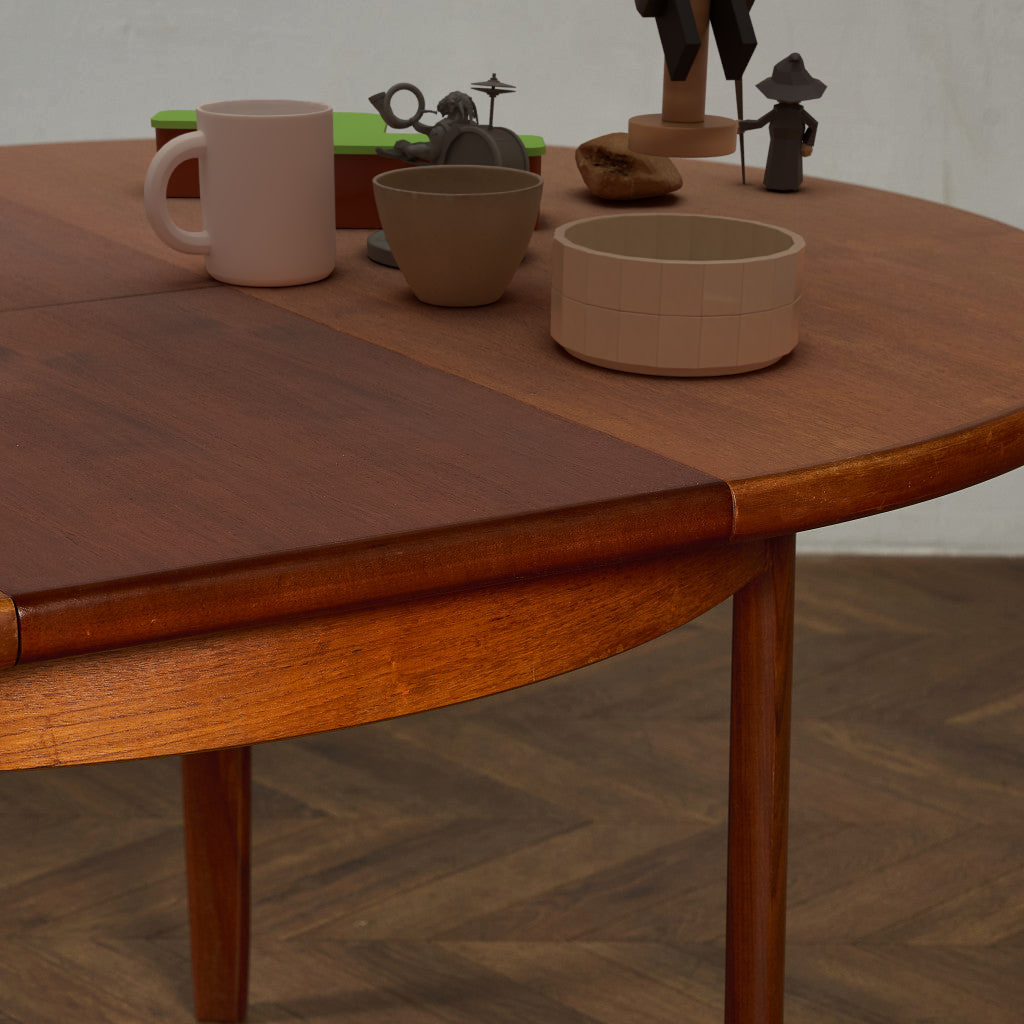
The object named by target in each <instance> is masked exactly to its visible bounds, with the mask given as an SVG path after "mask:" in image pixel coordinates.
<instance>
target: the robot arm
mask: <svg viewBox="0 0 1024 1024" xmlns="http://www.w3.org/2000/svg"><path fill="white" fill-rule="evenodd" d="M755 1H756V0H711V7H710V26H711V29H712V34H713V37H714V40H715V44H716V48H717V52H718V55H719V59H720V63H721V67H722V71H723V74H724V77H725V81H735V80H741V78H742V79H743V75H744V74H745V71H746V69H747V67H748V66H749V63H750V61H751V59H752V57H753V55H754V53H755V51H756V49H757V46H758V44H759V43H758V40H757V36H756V32H755V29H754V25H753V22H752V17H751V15H750V12H751V10H752V9H753V6H754V4H755ZM634 5H635V9H636V11H637V12H638V14H639V15H640V16H641V18H642V19H643V18H644V19H645V18H647V19H648V18H650V19H651V18H654V20H655V23H656V28H657V33H658V36H659V40H660V44H661V48H662V52H663V55H664V56H665V60H666V64H667V68H668V72H669V76H670V80H671V81H686V78H687V76H688V74H689V72H690V69H691V67H692V65H693V62H694V60H695V58H696V55H697V53H698V51H699V49H700V46H701V41H700V38H699V34H698V30H697V26H696V23H695V19H694V15H693V11H692V7H691V4H690V0H634ZM664 56H663V57H664Z"/></svg>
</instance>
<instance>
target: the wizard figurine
mask: <svg viewBox="0 0 1024 1024" xmlns="http://www.w3.org/2000/svg"><path fill="white" fill-rule="evenodd" d="M743 85H744V84H743V77H742V78H741V80H734V91H735V102H736V111H737V112H736V113H737V119H736V120H735V119H734V120H735V121H737V123H738V127H737V135H738V137H739V138H738V139H739V151H740V152H739V153H740V163H741V164H740V165H741V176H742V177H741V178H742V185H743V186H745V185H746V165H745V161H746V160H745V139H744V138H745V137H744V135H745V133H746V132H748V131H753V130H758V129H763V128H764V127H765V126H766V125H768V134H769V145H768V151H767V156H766V163H765V167H764V174H763V180H762V185H764V186H765V187H766V189H767V190H770V191H790V192H795V191H798V190H799V188H800V187H801V185H802V184H803V182H804V164H803V158H808V157H811V156H812V154H813V151H814V147H815V143H816V137H817V132H818V126H819V121H818V120H817V119H816V118H815V117H813V116H812V115H811V114H810V113H809V112H808V111H807V110H806V109H805V106H804V104H801V103H802V102H805V101H813V100H818V99H821V98H822V96H823V95H824V94H825V91H826V89H828V85H826V84H825V83H824V82H823V81H821V80H820V79H818V78H816V77H813V76H812V75H811V73H809V70H807V69H806V67H805V63H804V59H803V57H802V55H801V53H799V52H792V53H790V54H789V55H788V56H786V57H784V58H783V59H781V60H780V61H778V62H777V63H776V64H774V65H773V69H772V74H771V76H768V77H766V78H764V79H763V80H762V81H760V82H758V83H757V84H755V85H754V86H755V88H756V89H757V90H758V91H759V92H760V93H761V94H762V95H763V96H764V97H765V98H766V99H768V100H774V101H776V102H777V103H775V104H773V106H772V109H771V110H769V111H768V112H767V113H765V114H764V115H762V116H760V117H759V118H758V119H747V118H746V119H744V92H743ZM806 126H807V128H806Z"/></svg>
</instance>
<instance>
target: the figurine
mask: <svg viewBox="0 0 1024 1024" xmlns="http://www.w3.org/2000/svg"><path fill="white" fill-rule="evenodd" d="M491 76H492V77H490V78H489V79H488V80H487V81H478V82H471V83H470V85H472V86H473V87H470V90H474V91H478V92H482V93H486V95H487V96H488V97H489V98H490V105H489V118H488V124H480V123H479V114H478V109H477V105H476V103H475V101H474V99H473V97H472V96H470V95H469V94H467V93H466V92H462V91H459V90H455V91H451V92H449V93H448V94H447V95H445V96H444V97H443V98H442V99H440V100H439V101H438V103H437V105H436V110H433V109H426V100H425V97H424V94H423V92H422V91H421V90H420V88H419V87H417V86H416V85H414V84H412V83H410V82H398V83H396V84H394V85H392V86H391V87H389V89H387V91H381V92H378V93H376V94H373V95H371V96H369V97H368V98H367V99H368V101H369V103H370V104H371V105H372V107H374V109H375V110H376V111H377V112H378V114H380V115H381V117H382V119H383V120H384V122H385V123H386V124H387V127H389V128H391V129H394V130H405V129H408V128H410V127H412V128H413V129H414V130H415V132H416V133H418V134H425V135H427V136H428V138H429V140H430V141H429V142H416V143H412V144H411V142H408V141H406V140H403V139H402V140H399V141H396V143H395V145H394V148H393V149H387V150H383V149H382V148H381V147H379V146H377V147H376V149H375V151H376V153H377V154H378V155H379V156H382V157H387V158H392V159H401V160H402V161H403V162H405V163H409V164H413V165H417V166H435V165H481V166H496V167H505V168H513V169H518V170H524V171H528V172H529V158H528V153H527V150H526V148H525V145H524V144H523V142H522V140H521V139H520V138H519V136H518V135H519V134H517V133H516V132H515V131H513V130H512V129H510V128H508V127H504V126H494V125H493V124H494V123H493V122H494V121H493V120H494V109H495V99H497V96H500V95H501V94H512V93H516V90H514V89H516V88H517V86H514V85H511V84H509V83H508V84H507V83H504V82H501V81H500V80H498V78H497V73H495V72H492V75H491ZM474 86H480V87H474ZM488 87H489V88H488ZM502 88H504V89H502ZM508 88H509V89H508ZM512 89H513V90H512ZM403 90H404V91H409V92H411V93H412V94H413V95H414V96H415V98H416V99H417V105H418V106H417V110H416V112H415V114H414V115H413V116H411V117H409V119H402V118H400V117H398V116H397V115H395V114H394V111H393V109H392V106H391V101H392V99H393V96H394V95H395V94H396V93H398V92H400V91H403ZM429 113H430V114H434V115H436V116H437V115H438V113H439V114H440V115H441V118H442V119H440V120H439V121H437V122H435V124H434V125H427V124H424V123H422V122H421V121H420V120H421V119H422V117H423V116H424V114H429ZM445 116H446V117H445ZM420 159H426V160H428V161H431V162H430V163H425V162H421V161H417V160H420ZM366 255H367V257H368V258H369V259H371V260H372V261H374V262H376V263H379V264H383V265H386V266H390V267H394V268H399V267H398V265H397V263H396V261H395V258H394V256H393V254H392V252H391V250H390V247H389V245H388V242H387V240H386V237H385V234H384V231H383V229H380V230H377V231H375V232H373V233H371V234H370V235H368V237H367V238H366ZM525 257H526V253H525V254H524V257H523V259H522V261H523V260H524V259H525Z"/></svg>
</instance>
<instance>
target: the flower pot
mask: <svg viewBox="0 0 1024 1024" xmlns="http://www.w3.org/2000/svg"><path fill="white" fill-rule="evenodd" d="M544 181H545V180H544V178H543V177H542V175H541V176H540V175H538V174H535V173H532V172H528V171H524V170H518V169H513V168H505V167H496V166H481V165H435V166H421V167H411V168H403V169H397V170H392V171H388V172H385V173H382V174H379V175H377V176H376V177H374V178H373V189H374V195H375V200H376V205H377V209H378V213H379V217H380V221H381V225H382V228H381V229H382V230H383V231H384V234H385V237H386V240H387V242H388V245H389V247H390V250H391V252H392V254H393V256H394V258H395V261H396V263H397V265H398V267H397V268H398V269H399V271H400V273H401V275H402V276H403V278H404V280H405V281H406V283H407V284H408V286H409V288H410V289H411V291H412V292H413V294H414V296H415V297H416V298H417V299H418V300H419V301H421V302H423V303H425V304H428V305H432V306H433V305H434V306H439V307H440V306H441V307H449V308H451V307H452V308H467V307H469V308H470V307H479V306H485V305H489V304H492V303H495V302H497V301H499V300H500V299H501V298H502V296H503V295H504V293H505V292H506V290H507V288H508V286H509V285H510V283H511V281H512V280H513V278H514V277H515V275H516V273H517V271H518V269H519V268H520V265H521V263H522V261H523V260H524V259H523V257H524V254H525V255H526V252H527V249H528V248H529V245H530V243H531V239H532V236H533V233H534V230H535V229H534V227H535V224H536V220H537V216H538V212H539V208H540V209H541V202H542V198H543V191H544V183H545V182H544ZM522 259H523V260H522Z"/></svg>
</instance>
